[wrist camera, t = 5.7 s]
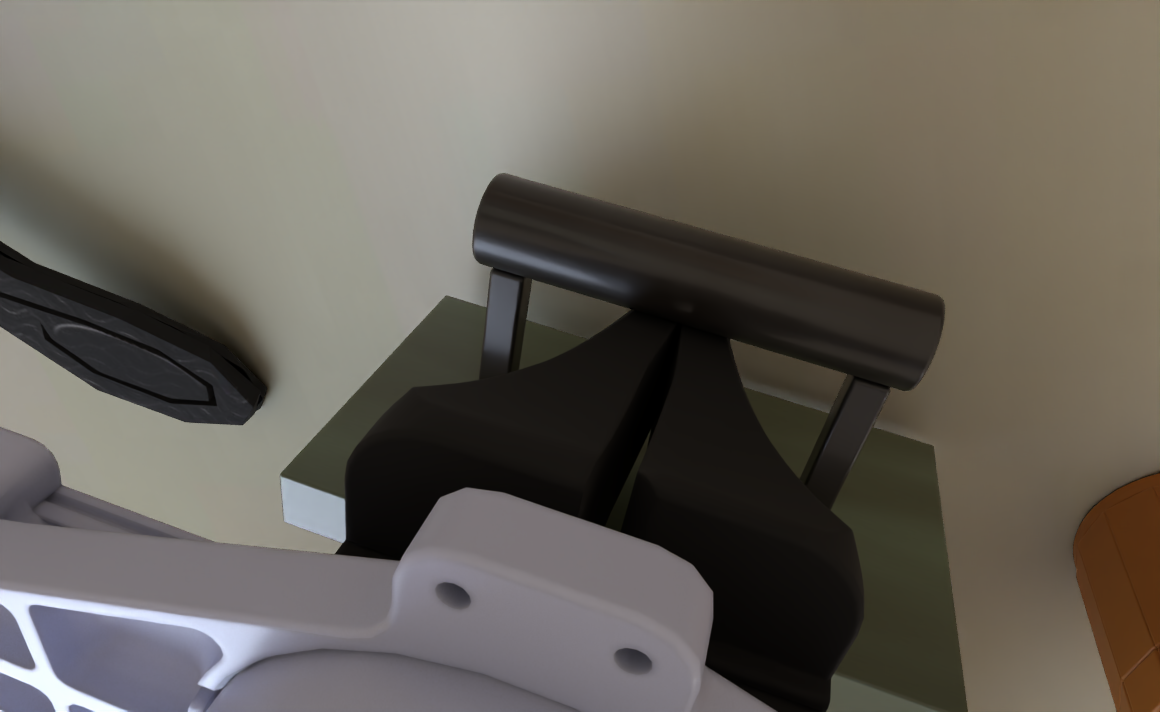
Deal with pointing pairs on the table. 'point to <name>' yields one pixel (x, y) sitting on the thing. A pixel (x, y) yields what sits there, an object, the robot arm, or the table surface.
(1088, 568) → the jar
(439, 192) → the table surface
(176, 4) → the table surface
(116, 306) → the hairbrush
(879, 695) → the drawer
